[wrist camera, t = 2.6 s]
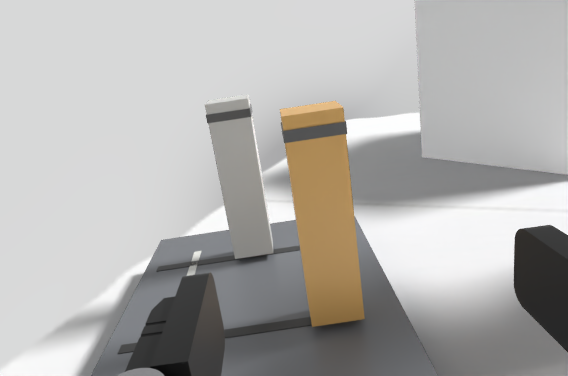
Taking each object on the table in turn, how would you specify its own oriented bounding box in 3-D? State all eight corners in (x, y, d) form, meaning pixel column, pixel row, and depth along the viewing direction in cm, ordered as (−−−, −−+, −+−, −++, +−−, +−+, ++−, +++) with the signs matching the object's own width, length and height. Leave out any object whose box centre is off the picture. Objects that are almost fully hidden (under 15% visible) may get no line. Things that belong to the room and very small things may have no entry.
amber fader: (356, 294, 28) (336, 100, 24) (365, 319, 25) (344, 107, 22) (307, 302, 28) (278, 109, 24) (311, 327, 25) (280, 116, 22)
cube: (505, 122, 80) (507, -28, 72) (656, 129, 64) (679, -63, 56) (422, 159, 66) (413, -22, 58) (589, 181, 50) (607, -67, 42)
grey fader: (273, 239, 37) (249, 94, 34) (273, 253, 35) (248, 98, 31) (236, 244, 37) (208, 100, 34) (234, 259, 35) (203, 104, 31)
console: (355, 240, 43) (352, 211, 42) (442, 429, 22) (440, 378, 21) (168, 268, 43) (161, 239, 42) (77, 483, 22) (59, 435, 21)
